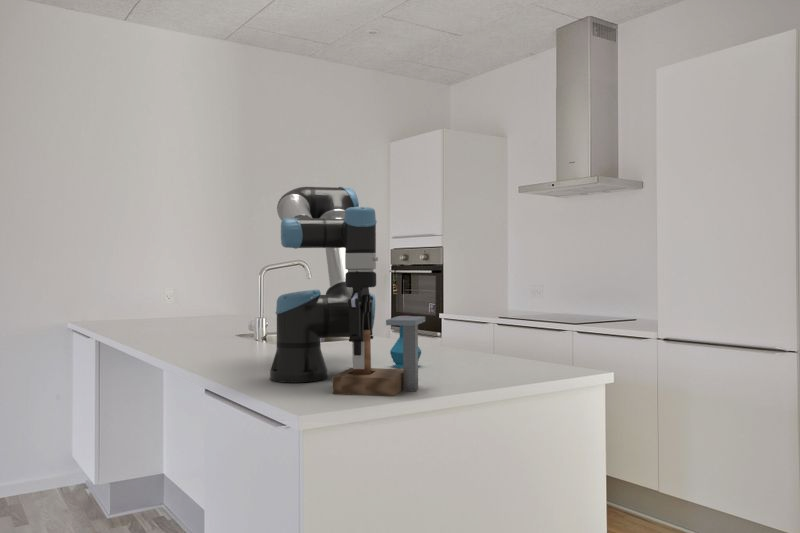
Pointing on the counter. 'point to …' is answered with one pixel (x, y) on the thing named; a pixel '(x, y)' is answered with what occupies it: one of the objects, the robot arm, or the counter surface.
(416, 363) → the grey t-shaped block
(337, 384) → the socket board
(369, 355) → the peg
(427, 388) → the counter surface
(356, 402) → the counter surface
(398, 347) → the perfume bottle
